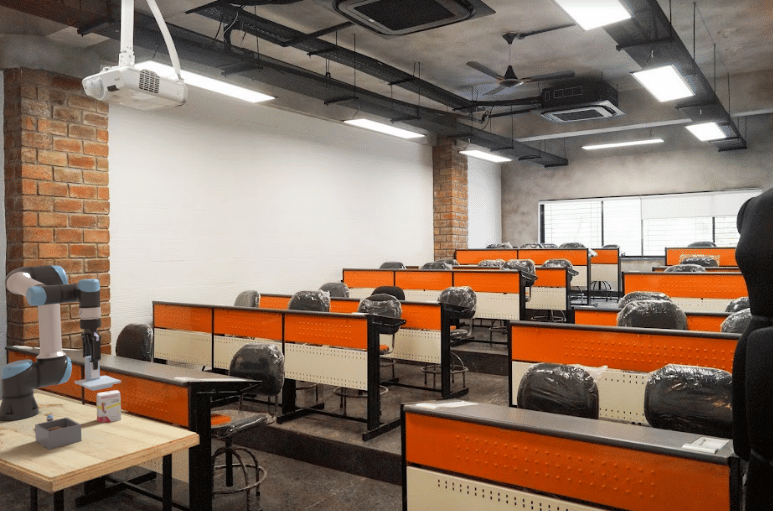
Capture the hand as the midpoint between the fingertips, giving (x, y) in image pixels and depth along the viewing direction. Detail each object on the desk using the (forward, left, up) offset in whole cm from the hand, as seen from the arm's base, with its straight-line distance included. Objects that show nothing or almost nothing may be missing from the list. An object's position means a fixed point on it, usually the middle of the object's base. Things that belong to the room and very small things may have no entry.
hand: (92, 376), depth 226 cm
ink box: (-8, +9, -22) cm, 25 cm away
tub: (+4, -14, -21) cm, 26 cm away
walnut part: (+1, -14, -21) cm, 25 cm away
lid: (+5, 0, -3) cm, 6 cm away
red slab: (-15, -11, -22) cm, 29 cm away
